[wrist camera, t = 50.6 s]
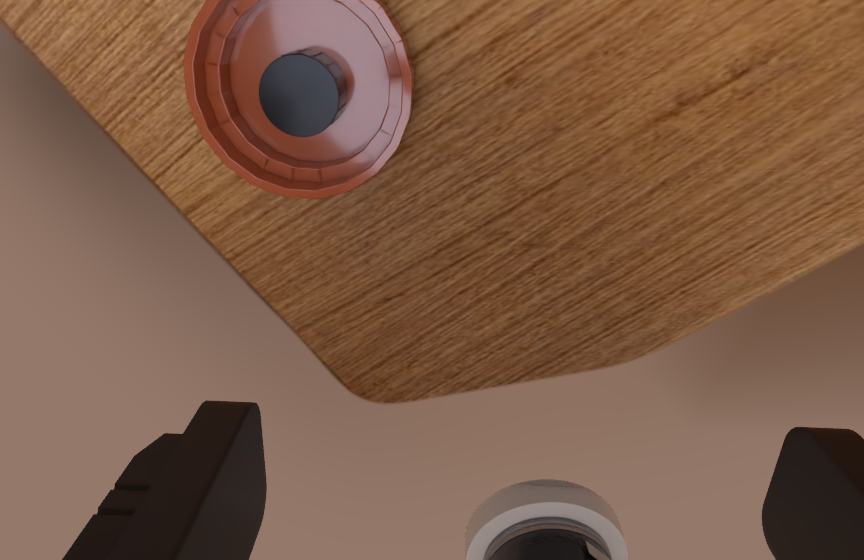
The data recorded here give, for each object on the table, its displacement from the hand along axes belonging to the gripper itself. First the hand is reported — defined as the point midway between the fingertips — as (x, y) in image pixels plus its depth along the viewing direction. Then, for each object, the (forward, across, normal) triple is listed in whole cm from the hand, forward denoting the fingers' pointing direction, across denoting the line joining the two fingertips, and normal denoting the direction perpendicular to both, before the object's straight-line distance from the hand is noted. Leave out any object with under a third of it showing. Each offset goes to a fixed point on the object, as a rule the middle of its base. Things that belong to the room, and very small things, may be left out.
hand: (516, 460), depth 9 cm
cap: (+24, +8, -2) cm, 25 cm away
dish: (+27, +8, -3) cm, 28 cm away
